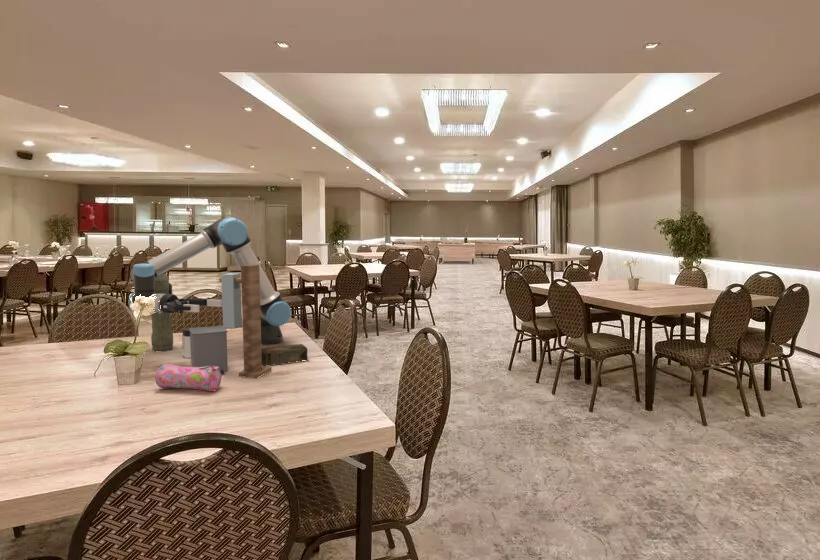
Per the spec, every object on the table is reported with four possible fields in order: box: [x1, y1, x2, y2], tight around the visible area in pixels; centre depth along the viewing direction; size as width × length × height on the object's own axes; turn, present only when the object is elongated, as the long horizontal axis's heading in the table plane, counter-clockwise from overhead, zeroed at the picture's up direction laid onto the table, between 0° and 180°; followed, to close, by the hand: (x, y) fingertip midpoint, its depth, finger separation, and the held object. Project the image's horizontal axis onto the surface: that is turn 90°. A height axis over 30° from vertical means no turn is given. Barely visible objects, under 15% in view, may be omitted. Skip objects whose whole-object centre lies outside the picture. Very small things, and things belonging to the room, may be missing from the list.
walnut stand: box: [218, 264, 273, 378], centre depth 193 cm, size 18×10×42 cm, turn 75°
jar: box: [181, 326, 198, 359], centre depth 219 cm, size 9×8×12 cm
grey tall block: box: [220, 272, 243, 329], centre depth 194 cm, size 5×5×21 cm
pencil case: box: [154, 363, 226, 392], centre depth 175 cm, size 21×9×9 cm, turn 83°
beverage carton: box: [261, 343, 308, 367], centre depth 211 cm, size 8×19×7 cm, turn 118°
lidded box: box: [188, 324, 229, 372], centre depth 199 cm, size 13×13×16 cm
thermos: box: [150, 272, 174, 352], centre depth 229 cm, size 9×12×35 cm
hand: (210, 306), depth 196 cm, fingers open, 13 cm apart
